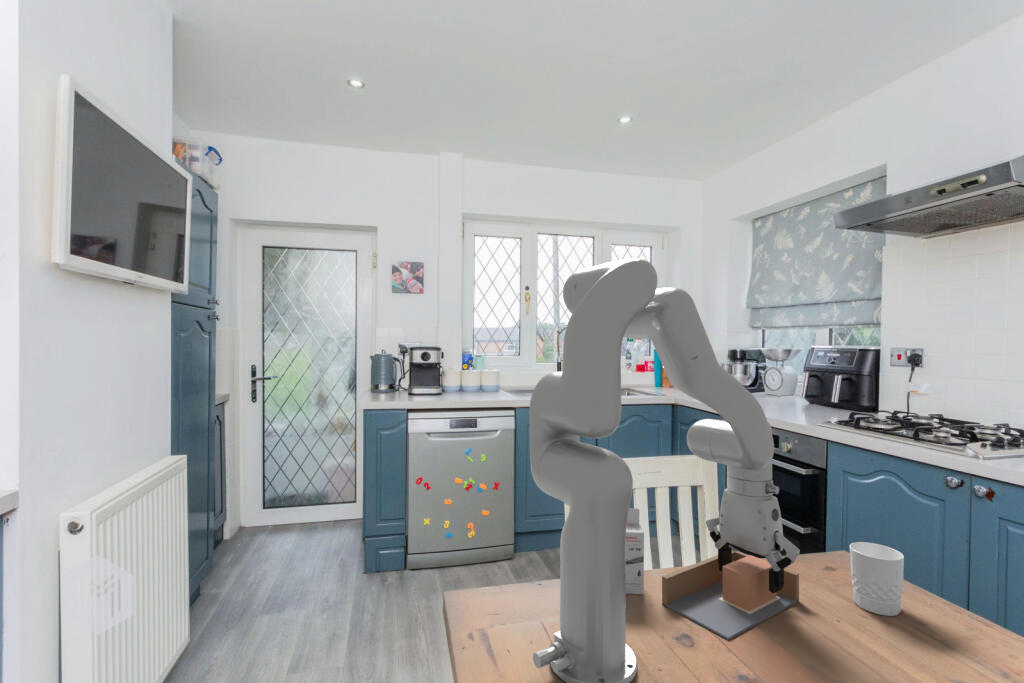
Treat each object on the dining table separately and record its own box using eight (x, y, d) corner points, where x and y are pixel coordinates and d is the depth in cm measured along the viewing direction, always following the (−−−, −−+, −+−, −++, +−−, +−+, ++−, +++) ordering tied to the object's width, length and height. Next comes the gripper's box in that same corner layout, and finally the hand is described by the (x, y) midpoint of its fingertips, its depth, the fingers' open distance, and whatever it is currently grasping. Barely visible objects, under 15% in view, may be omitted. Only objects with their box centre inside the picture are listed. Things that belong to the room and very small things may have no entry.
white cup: (915, 613, 85) (914, 555, 85) (886, 622, 82) (885, 563, 82) (867, 592, 92) (867, 539, 93) (839, 599, 89) (839, 545, 90)
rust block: (776, 597, 89) (776, 564, 89) (748, 611, 84) (748, 577, 84) (750, 586, 93) (750, 555, 94) (722, 599, 89) (722, 566, 89)
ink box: (598, 593, 92) (598, 514, 92) (596, 580, 97) (596, 506, 97) (644, 595, 91) (644, 516, 91) (640, 582, 96) (640, 507, 96)
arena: (728, 640, 77) (728, 608, 77) (662, 604, 88) (662, 576, 88) (799, 601, 89) (798, 573, 89) (733, 573, 100) (733, 549, 100)
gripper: (809, 494, 84) (809, 594, 84) (718, 473, 99) (719, 558, 98) (786, 502, 80) (786, 606, 80) (695, 478, 94) (695, 566, 94)
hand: (749, 579), depth 89 cm, fingers open, 9 cm apart
